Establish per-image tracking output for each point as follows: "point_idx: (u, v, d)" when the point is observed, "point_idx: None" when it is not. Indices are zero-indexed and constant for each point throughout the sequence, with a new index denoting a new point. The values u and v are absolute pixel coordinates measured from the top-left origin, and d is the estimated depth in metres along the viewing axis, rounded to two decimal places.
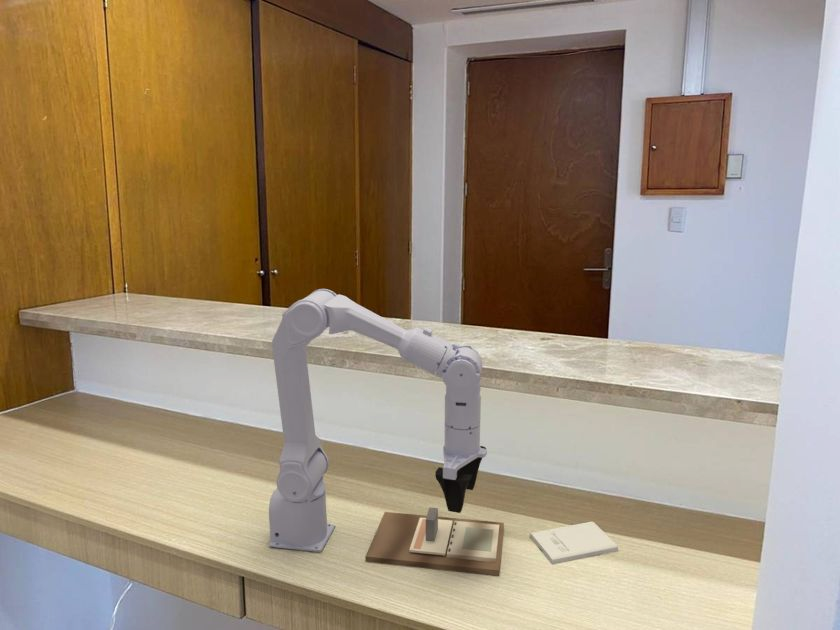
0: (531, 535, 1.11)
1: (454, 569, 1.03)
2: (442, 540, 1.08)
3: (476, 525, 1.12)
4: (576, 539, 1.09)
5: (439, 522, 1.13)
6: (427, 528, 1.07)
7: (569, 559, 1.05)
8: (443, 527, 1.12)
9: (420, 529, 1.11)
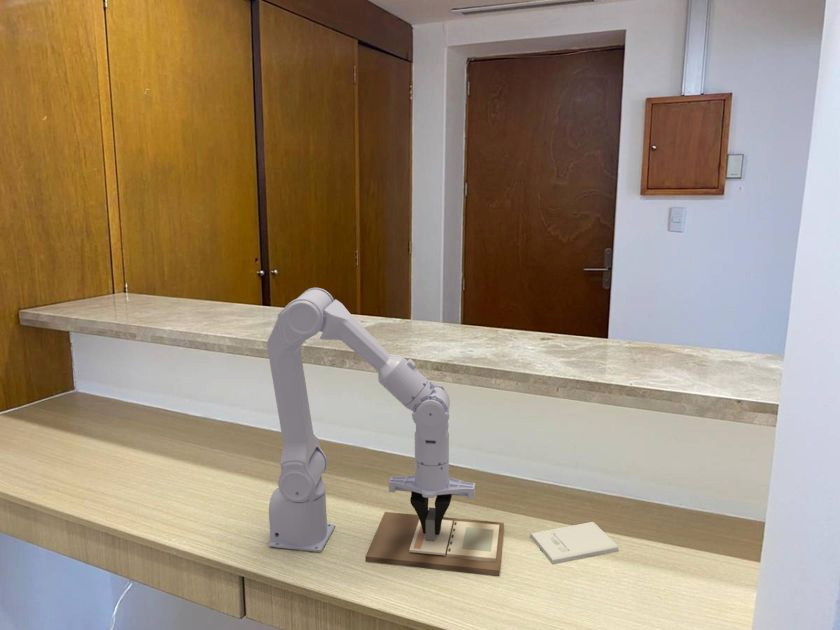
0: (532, 535, 1.11)
1: (454, 569, 1.03)
2: (442, 540, 1.08)
3: (476, 525, 1.12)
4: (577, 539, 1.09)
5: None
6: (427, 528, 1.07)
7: (570, 560, 1.05)
8: (443, 527, 1.12)
9: (420, 529, 1.11)
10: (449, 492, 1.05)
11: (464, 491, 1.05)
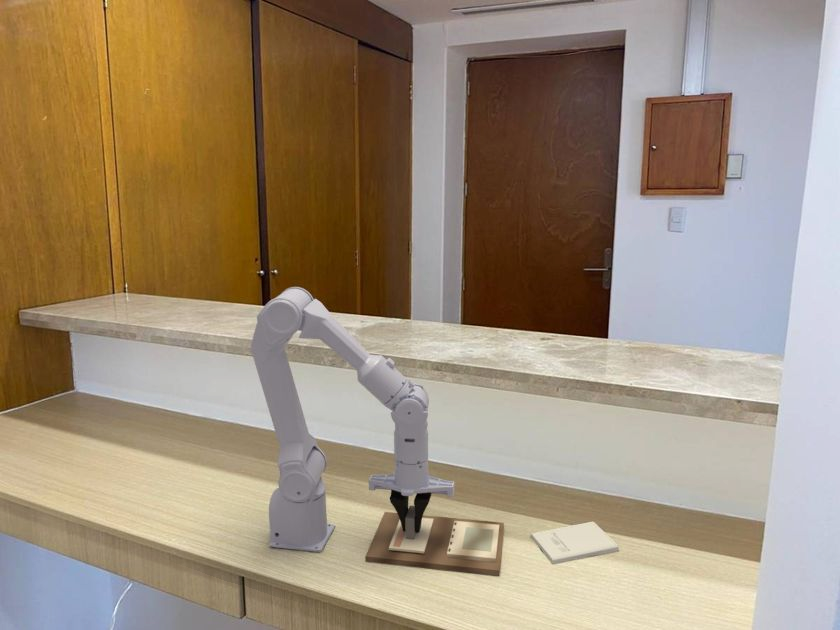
0: (532, 535, 1.11)
1: (454, 569, 1.03)
2: (422, 538, 1.09)
3: (476, 525, 1.12)
4: (577, 539, 1.09)
5: None
6: (407, 526, 1.08)
7: (570, 560, 1.05)
8: (423, 525, 1.12)
9: (400, 527, 1.12)
10: (428, 490, 1.06)
11: (443, 489, 1.06)
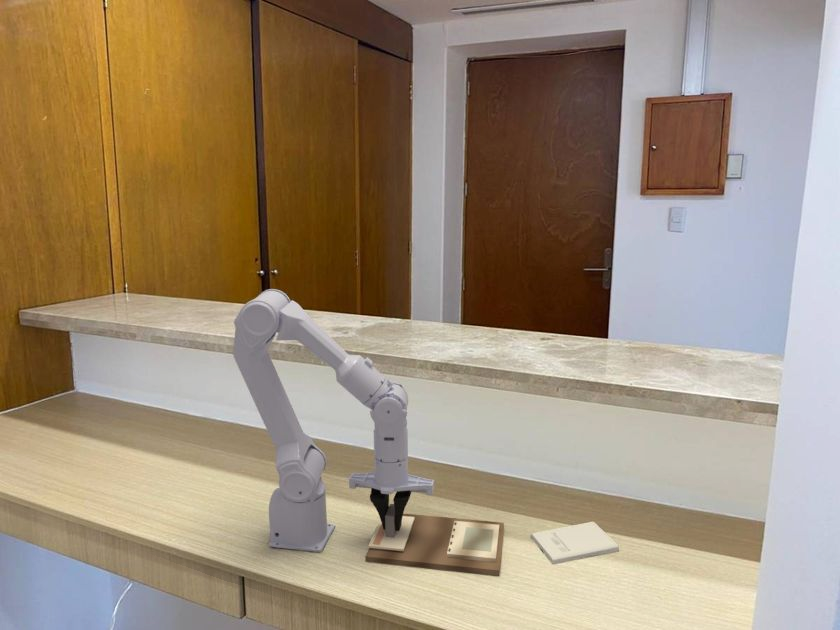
0: (532, 535, 1.11)
1: (454, 569, 1.03)
2: (402, 536, 1.09)
3: (476, 525, 1.12)
4: (577, 539, 1.09)
5: None
6: (387, 524, 1.09)
7: (570, 560, 1.05)
8: (404, 523, 1.13)
9: (381, 525, 1.12)
10: (407, 489, 1.06)
11: (422, 488, 1.07)
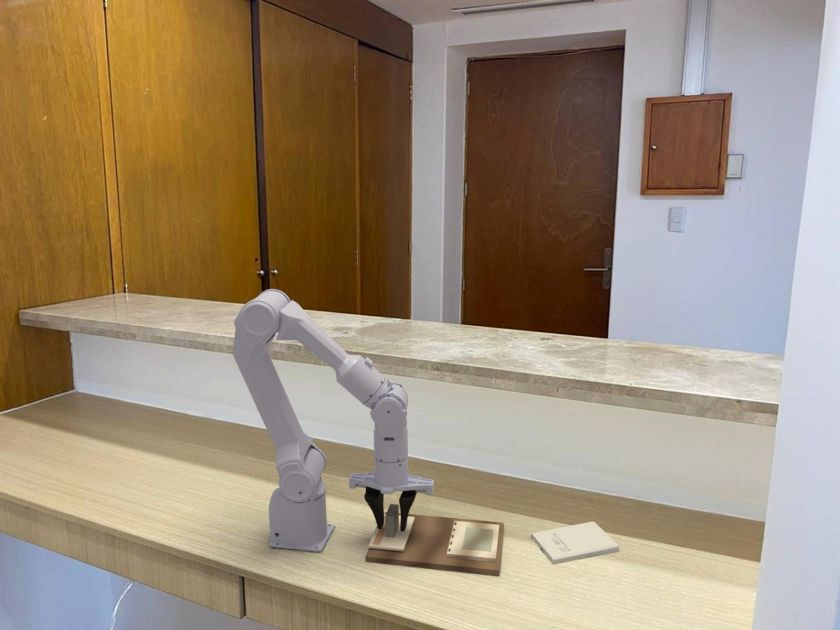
0: (532, 535, 1.11)
1: (454, 569, 1.03)
2: (402, 536, 1.09)
3: (476, 525, 1.12)
4: (577, 539, 1.09)
5: None
6: (387, 524, 1.09)
7: (570, 559, 1.05)
8: None
9: None
10: (407, 488, 1.06)
11: (422, 488, 1.07)
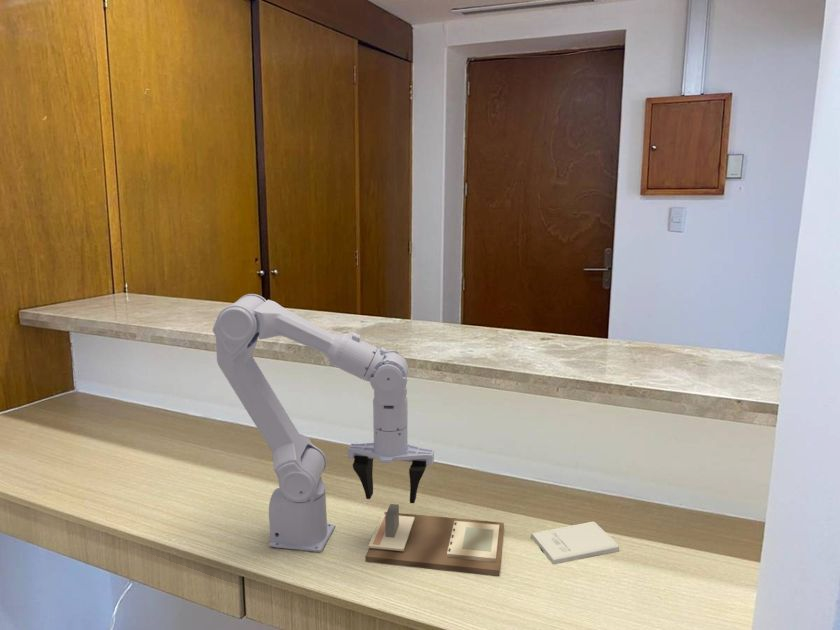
0: (533, 535, 1.11)
1: (454, 569, 1.03)
2: (402, 536, 1.09)
3: (476, 525, 1.12)
4: (577, 539, 1.09)
5: (401, 518, 1.15)
6: (387, 524, 1.09)
7: (570, 559, 1.05)
8: (404, 523, 1.13)
9: (381, 525, 1.12)
10: (407, 458, 1.05)
11: (422, 457, 1.05)
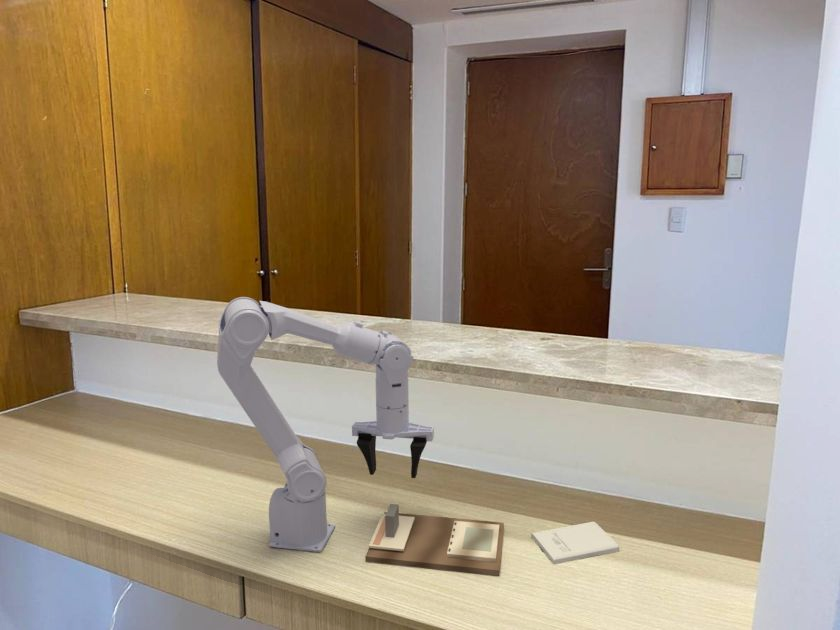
0: (533, 535, 1.11)
1: (454, 569, 1.03)
2: (402, 536, 1.09)
3: (476, 525, 1.12)
4: (578, 539, 1.09)
5: (401, 518, 1.15)
6: (387, 524, 1.09)
7: (571, 560, 1.05)
8: (404, 523, 1.13)
9: (381, 525, 1.12)
10: (408, 434, 1.10)
11: (423, 434, 1.11)
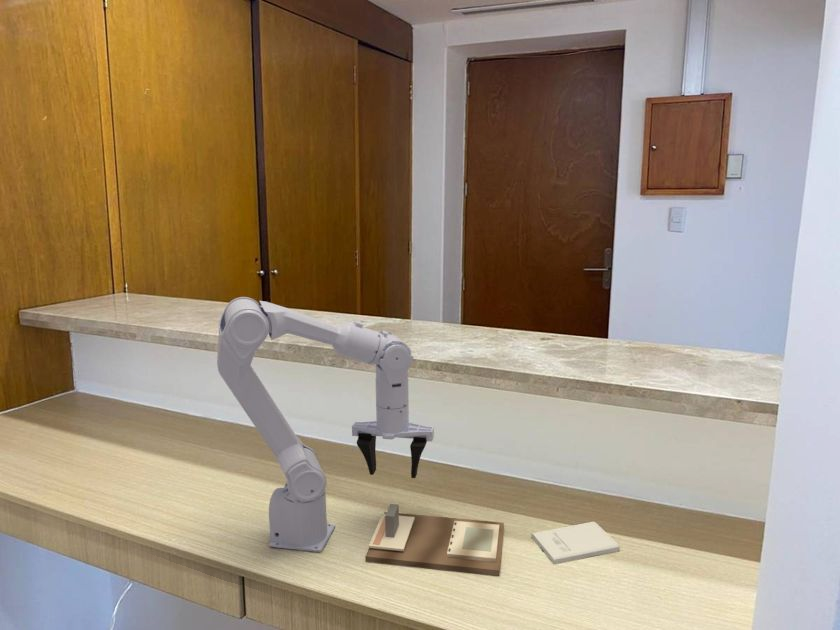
0: (533, 535, 1.11)
1: (454, 569, 1.03)
2: (402, 536, 1.09)
3: (476, 525, 1.12)
4: (578, 539, 1.09)
5: (401, 518, 1.15)
6: (387, 524, 1.09)
7: (571, 559, 1.05)
8: (404, 523, 1.13)
9: (381, 525, 1.12)
10: (408, 434, 1.10)
11: (423, 434, 1.11)
